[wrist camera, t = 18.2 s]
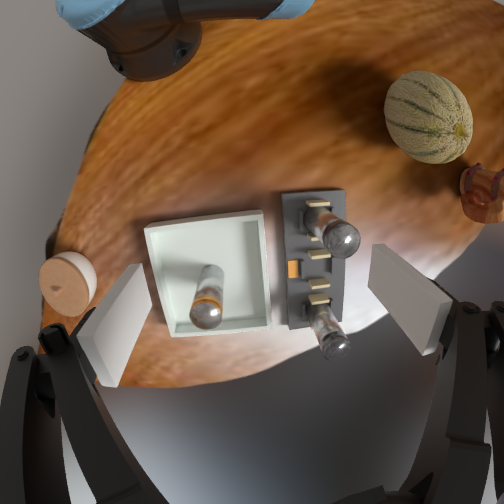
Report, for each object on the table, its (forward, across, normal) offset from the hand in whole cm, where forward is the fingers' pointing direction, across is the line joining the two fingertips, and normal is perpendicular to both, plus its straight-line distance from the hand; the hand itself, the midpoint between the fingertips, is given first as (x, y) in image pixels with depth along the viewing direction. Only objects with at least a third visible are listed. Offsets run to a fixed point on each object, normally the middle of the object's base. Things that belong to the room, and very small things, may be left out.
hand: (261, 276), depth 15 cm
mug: (+28, +43, +1) cm, 52 cm away
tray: (+28, -6, -13) cm, 31 cm away
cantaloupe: (+28, +28, +12) cm, 42 cm away
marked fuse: (+27, -6, -13) cm, 30 cm away
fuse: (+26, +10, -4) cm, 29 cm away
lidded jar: (+28, -31, -10) cm, 43 cm away
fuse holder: (+28, +11, -12) cm, 32 cm away
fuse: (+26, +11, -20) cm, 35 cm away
